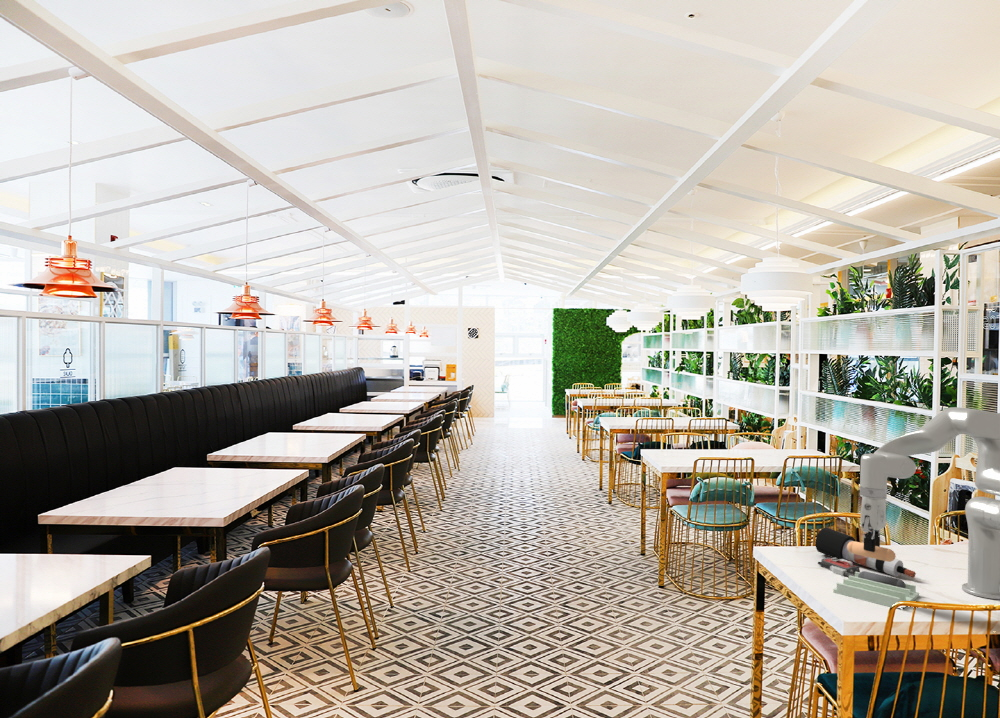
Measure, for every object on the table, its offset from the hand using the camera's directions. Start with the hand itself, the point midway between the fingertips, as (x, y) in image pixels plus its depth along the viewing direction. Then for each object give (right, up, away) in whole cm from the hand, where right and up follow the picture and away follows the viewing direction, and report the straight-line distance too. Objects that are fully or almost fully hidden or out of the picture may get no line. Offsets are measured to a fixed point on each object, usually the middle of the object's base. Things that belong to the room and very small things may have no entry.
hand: (871, 549), depth 208 cm
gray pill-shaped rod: (+7, -13, +7) cm, 17 cm away
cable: (+16, -16, +32) cm, 39 cm away
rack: (+3, -16, +4) cm, 17 cm away
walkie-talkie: (+5, -17, +25) cm, 30 cm away
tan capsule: (0, -1, 0) cm, 1 cm away
